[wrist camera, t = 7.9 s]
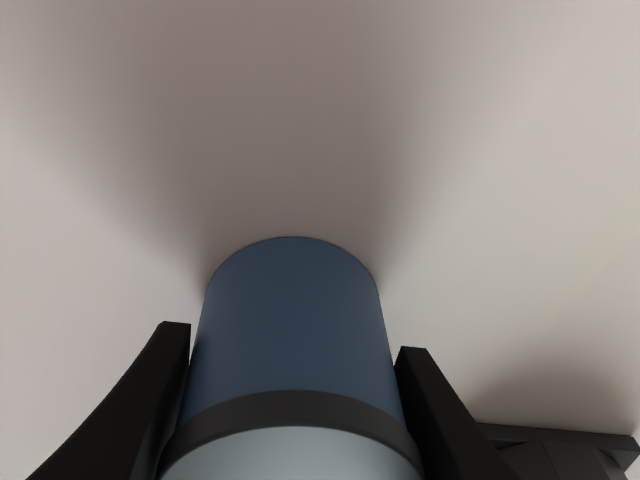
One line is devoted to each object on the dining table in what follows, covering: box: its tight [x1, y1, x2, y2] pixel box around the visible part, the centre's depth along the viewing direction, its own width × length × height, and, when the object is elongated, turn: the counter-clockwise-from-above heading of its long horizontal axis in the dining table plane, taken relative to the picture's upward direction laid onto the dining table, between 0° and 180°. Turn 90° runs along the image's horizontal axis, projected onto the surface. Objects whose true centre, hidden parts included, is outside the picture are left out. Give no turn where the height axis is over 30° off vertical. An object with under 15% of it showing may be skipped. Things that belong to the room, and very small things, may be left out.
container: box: [154, 237, 426, 480], centre depth 11 cm, size 5×5×6 cm
